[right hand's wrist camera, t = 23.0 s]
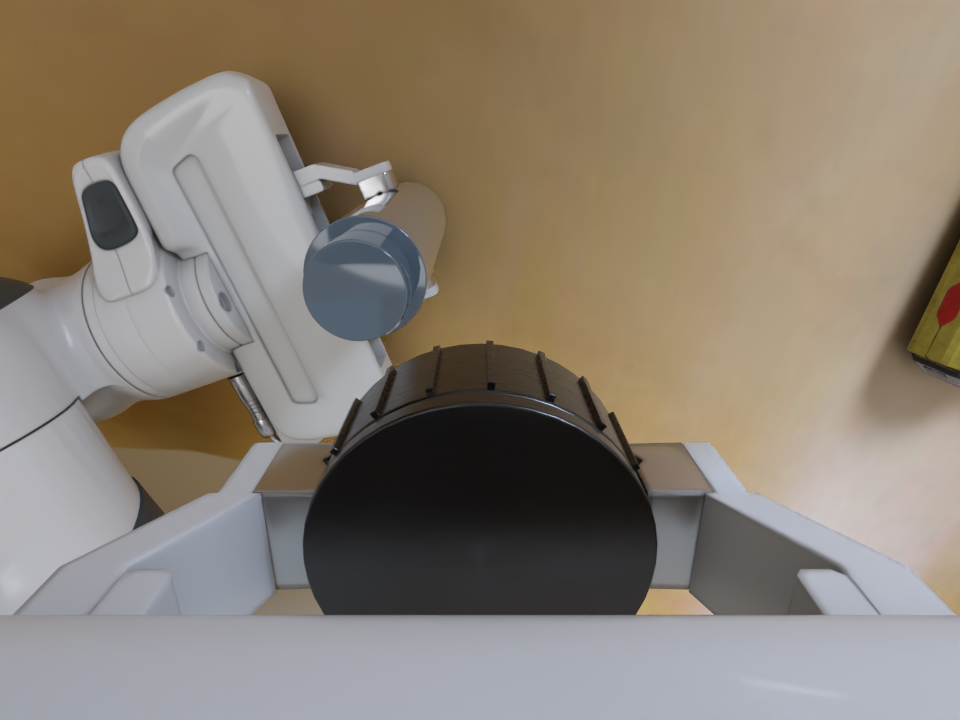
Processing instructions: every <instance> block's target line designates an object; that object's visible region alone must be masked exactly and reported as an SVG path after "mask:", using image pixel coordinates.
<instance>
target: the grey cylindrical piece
mask: <svg viewBox="0 0 960 720" xmlns="http://www.w3.org/2000/svg"><path fill="white" fill-rule="evenodd" d="M398 185H399V187H397V188H395V189H393V190H391V191H388V192H384V193H383V192H381V193H380V194H378V195H376V196H374V197H373V198H371V199H369V200H368V201H366V202H364V203H363V204H361V205H360V206H358V207H356V208H355V209H353V210H352V211H350V212H348V213H347V214H345V215H343V216H342V217H340V218H339V219H337V220H335V221H334V222H332V223H331V224H329V225H328V226H326V227H325V228H323V229H322V230H321V231H320V232H319V233H318V234H317V235H316V237H315V238H314V239H313V241H312V242H311V244H310V246H309V248H308V250H307V253H306V256H305V260H304V267H303V284H302V287H303V296H304V300H305V304H306V306H307V308H308V310H309V312H310V314H311V315H312V317H313V318H314V319H315V321H316V322H317V323H318V324H319V325H320V326H321V327H322V328H324V329H325V330H326V331H328V332H329V333H331V334H333V335H335V336H337V337H339V338H342V339H345V340H351V341H367V340H372V339H377V338H379V337H382V336H384V335H387V334H389V333H392V332H394V331H396V330H398V329H400V328H402V327H403V326H405V325H406V324H407V323H408V322H409V321H410V320H411V319H412V318H413V317H414V316H415V315H416V313H417V312H418V310H419V309H420V307H421V305H422V303H423V300H424V297H425V294H426V291H427V288H428V284H429V281H430V278H431V275H432V272H433V268H434V265H435V262H436V259H437V255H438V252H439V249H440V246H441V242H442V239H443V236H444V233H445V229H446V222H447V219H446V212H445V208H444V206H443V204H442V201H441V200H440V198H439V197H438V196H437V195H436V193H435V192H433V191H432V190H431V189H430V188H428V187H426V186H425V185H422V184H420V183H416V182H401V183H398Z"/></svg>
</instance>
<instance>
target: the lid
mask: <svg viewBox="0 0 960 720" xmlns="http://www.w3.org/2000/svg"><path fill="white" fill-rule="evenodd" d="M330 453H331V454H332V456H331V458H329V459H326V460H325V462H324V463H325V464H326V465H327V467H326V470H325V472H324V474H323V476H322V478H321V481H320V483H319V485H318V487H317V489H316V492H315V494H314V496H313V498H312V500H311V503H310V505H309V509H308V512H307V516H306V520H305V524H304V533H303V560H304V565H305V570H306V574H307V579H308V582H309V584H310V587H311V590H312V592H313V595H314V597H315V599H316V601H317V603H318V604H319V606H320V608H321V610H322V611H323V613H324V615H636V613H637V612H638V610H639V608H640V606H641V605H642V603H643V601H644V600H645V597H646V595H647V592H648V590H649V587H650V585H651V582H652V579H653V575H654V570H655V566H656V560H657V545H658V541H657V531H656V523H655V519H654V516H653V512H652V508H651V505H650V502H649V500H648V498H647V496H646V494H645V491H644V489H643V487H642V485H641V483H640V480H639V478H638V476H637V474H636V472H635V471H637V470H639V469H640V466H639V464H638V462H637V460H636V458H635V456H634V454H633V451H632V449H631V447H630V445H629V443H628V441H627V439H626V437H625V435H624V433H623V430H622V428H621V426H620V424H619V422H618V420H617V418H616V416H615V414H614V412H611V413H608V411H607V410H606V408H605V407H604V405H603V404H602V402H601V401H600V399H599V398H598V397H597V396H596V395H595V393H594V392H593V391H592V390H591V388H590V385H589V383H588V381H587V379H586V378H585V377H583V376H582V377H581V378H580V379H579V378H578V377H577V376H576V375H575V374H573V373H572V372H570V371H569V370H567V369H566V368H564V367H562V366H561V365H559V364H558V363H556V362H554V361H551V360H549V359H547V358H546V357H545V353H543V352H540V351H538V353H537V354H535V353H532V352H529V351H526V350H523V349H519V348H514V347H508V346H503V345H493V341H486V344H468V345H457V346H452V347H446V348H441V347H440V345H439V346H435V347H434V348H433V351H431V352H428V353H425V354H422V355H419V356H417V357H415V358H413V359H411V360H409V361H406V362H404V363H402V364H401V365H399V366H398V367H396V368H394V367H393V366H390V367H389V368H387V370H386V373H385V375H384V376H383V377H382V378H381V379H380V380H379V381H377V382H376V383H375V384H374V385H373V386H372V387H371V388H370V389H369V390H368V391H367V392H366V394H365V395H364V396H363V397H362V398H361V399H360V400H359V399H357V398H355V400H354V401H353V403H352V405H351V407H350V409H349V412H348V414H347V416H346V418H345V420H344V422H343V424H342V427H341V429H340V431H339V433H338V435H337V437H336V439H335V441H334V443H333V446H332V448H331V450H330Z"/></svg>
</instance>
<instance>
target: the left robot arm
mask: <svg viewBox="0 0 960 720" xmlns="http://www.w3.org/2000/svg"><path fill="white" fill-rule="evenodd" d="M391 169H392V170H391ZM72 181H73V185H74V190H75V193H76V197H77V200H78V204H79V208H80V211H81V215H82V219H83V223H84V227H85V231H86V235H87V239H88V244H89V249H90V254H91V259H92V260H91V261H90V262H89V263H88V264H86V265H85V266H84V267H83V268H81V269H80V270H79V271H78V272H77V273H75V274H73V275H70V276H67V277H52V278H46V279H40V280H37V281H34V282H31V283H29V284H28V283H25V282H22V281H18V280H14V279H9V278H3V277H0V615H13V614H14V613H15V612H16V611H17V610H18V609H19V608H20V607H21V606H22V605H23V604H24V603H25V602H26V601H27V599H28V598H29V597H30V596H31V595H32V594H33V593H34V592H35V591H36V590H37V589H38V588H39V587H40V586H41V585H42V584H43V583H44V582H45V581H46V580H47V579H48V578H49V577H50V576H51V575H52V574H53V573H54V572H55V571H56V570H57V569H58V568H59V567H60V566H62V565H64V564H66V563H68V562H70V561H72V560H74V559H76V558H78V557H80V556H82V555H84V554H86V553H88V552H90V551H92V550H94V549H96V548H98V547H100V546H102V545H104V544H106V543H108V542H110V541H112V540H114V539H116V538H118V537H120V536H122V535H124V534H126V533H129V532H131V531H133V530H135V529H137V528H139V527H141V526H143V525H145V524H147V523H149V522H151V521H153V520H155V519H157V518H159V517H161V516H163V515H165V514H164V512H163V511H162V510H161V509H160V508H159V506H158V505H157V504H156V503H155V502H154V500H153V499H152V498H151V497H150V496H149V494H148V493H147V492H146V491H145V489H144V488H143V487H142V486H141V484H140V483H139V482H138V481H137V480H136V479H135V478H134V477H132V476H130V474H129V473H128V471H127V470H126V468H125V467H124V465H123V464H122V462H121V461H120V459H119V458H118V456H117V455H116V453H115V452H114V450H113V449H112V447H111V446H110V445H109V443H108V442H107V440H106V439H105V437H104V436H103V434H102V433H101V431H100V430H99V428H98V427H97V425H96V424H95V423H98V422H101V421H104V420H107V419H110V418H112V417H115V416H117V415H119V414H121V413H122V412H124V411H125V410H126V409H128V408H129V407H130V406H132V405H133V404H134V403H136V402H139V401H143V400H161V399H166V398H170V397H174V396H176V395H179V394H182V393H185V392H188V391H191V390H194V389H196V388H199V387H202V386H205V385H208V384H211V383H214V382H217V381H219V380H222V379H225V378H228V379H229V381H230V383H231V384H232V386H233V388H234V390H235V391H236V393H237V395H238V397H239V398H240V400H241V402H242V403H243V404H244V406H245V407H246V408H247V410H249V413H250V414H251V416H252V418H253V423H254V425H255V427H256V429H257V430H258V432H259V433H260V434H261V436H262V437H263V438H270V439H271V440H272V441H273V442H285V443H319V442H321V441H322V440H324V439H325V438H329V437H335V436H337V435H338V433H339V431H340V429H341V427H342V424H343V422H344V420H345V418H346V416H347V414H348V412H349V409H350V407H351V405H352V403H353V401H354V400H355V398H357V399H359V400H360V399H361V398H362V397H363V396H364V395H365V394H366V392H367V391H368V390H369V389H370V388H371V387H372V386H373V385H374V384H375V383H376V382H377V381H379V380H380V379H381V378H382V377H383V376H384V375H385V373H386V370H387V368H389V367H390V366H393V365H392V363H391V361H390V359H389V356H388V354H387V352H386V350H385V347H384V345H383V343H382V340H381V338H380V337H379V338H377V339H372V340H367V341H351V340H345V339H342V338H339V337H337V336H335V335H333V334H331V333H329V332H328V331H326V330H325V329H324V328H322V327H321V326H320V325H319V324H318V323H317V322H316V321H315V319H314V318H313V317H312V315H311V314H310V312H309V310H308V308H307V306H306V304H305V300H304V296H303V287H302V284H303V267H304V260H305V256H306V253H307V250H308V248H309V246H310V244H311V242H312V241H313V239H314V238H315V237H316V235H317V234H318V233H319V232H320V231H321V230H322V229H323V228H325V227H326V226H328V225H329V224H330V223H329V221H328V218H327V216H326V214H325V212H324V209H323V207H322V205H321V203H320V200H319V198H318V196H317V193H320V192H322V191H325V190H327V189H330V188H332V186H333V184H332V182H331V181H335V182H341V183H346V184H352V185H359V188H360V190H361V192H362V194H363V197H364V199H365V200H367V199H369V198H372V197H374V196H376V195H378V194H380V193H381V192H383V193H384V192H388V191H391V190H393V189H395V188H397V187H399V185H398V182H397V179H396V177H395V174H394V171H393V168H392V166H391V164H390V161H389V160H387V161H384V162H381V163H378V164H376V165H373V166H371V167H368V168H365V169H363V170H360V171H359V169H357V168H351V167H346V166H341V165H336V164H331V163H325V162H322V163H316V164H312V165H310V166H307V167H305V166H304V164H303V162H302V160H301V157H300V155H299V153H298V151H297V148H296V146H295V144H294V142H293V139H292V137H291V135H290V132H289V130H288V128H287V126H286V123H285V121H284V119H283V117H282V114H281V112H280V110H279V108H278V105H277V103H276V101H275V99H274V96H273V94H272V92H271V90H270V88H269V86H268V85H267V84H266V83H264V82H262V81H260V80H258V79H256V78H254V77H252V76H249V75H247V74H244V73H241V72H236V71H223V72H219V73H216V74H213V75H211V76H208V77H206V78H204V79H202V80H200V81H198V82H196V83H193V84H191V85H189V86H188V87H186V88H184V89H182V90H180V91H178V92H176V93H175V94H173V95H171V96H169V97H168V98H166V99H164V100H163V101H161V102H159V103H158V104H156V105H155V106H153V107H152V108H150V109H149V110H147V111H146V112H144V113H143V114H142V115H140V116H139V117H138V118H136V119H135V120H134V121H133V122H132V123H131V124H130V126H129V127H128V128H127V130H126V131H125V133H124V135H123V137H122V141H121V145H120V150H115V151H110V152H105V153H101V154H98V155H94V156H91V157H88V158H86V159H83V160H81V161H79V162H78V163H76V164H75V165H74V167H73V169H72ZM438 291H439V287H438V284H437V282H436V279H435V277H434V274H433V272H432V275H431V278H430V281H429V284H428V288H427V291H426V294H425V297H424V299H427V298H430V297H433V296H434V295H436V294H437V293H438ZM276 433H277V434H278V436H279V437H277V435H276Z"/></svg>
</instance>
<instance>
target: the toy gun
mask: <svg viewBox="0 0 960 720" xmlns="http://www.w3.org/2000/svg"><path fill="white" fill-rule="evenodd" d="M907 350H908V351H910V352H912V355H913V359H914V361H915V362H916V363H917V364H918V366H919V367H920V369H921V370H922V371H923V372H925V373H927V374H929V375H932V376H934V377H936V378H939V379H941V380H943V381H946V382H948V383H950V384H952V385H955V386H957V387H960V240H959V242H958V244H957V246H956V248H955V250H954V252H953V255H952V257H951V259H950V261H949V263H948V265H947V267H946V269H945V271H944V273H943V275H942V277H941V279H940V281H939V283H938V285H937V287H936V289H935V292H934V294H933V296H932V298H931V300H930V302H929V304H928V306H927V308H926V310H925V312H924V314H923V316H922V318H921V320H920V322H919V324H918V327H917V329H916V331H915V333H914V335H913V337H912V339H911V341H910V343H909V345H908V347H907Z"/></svg>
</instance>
